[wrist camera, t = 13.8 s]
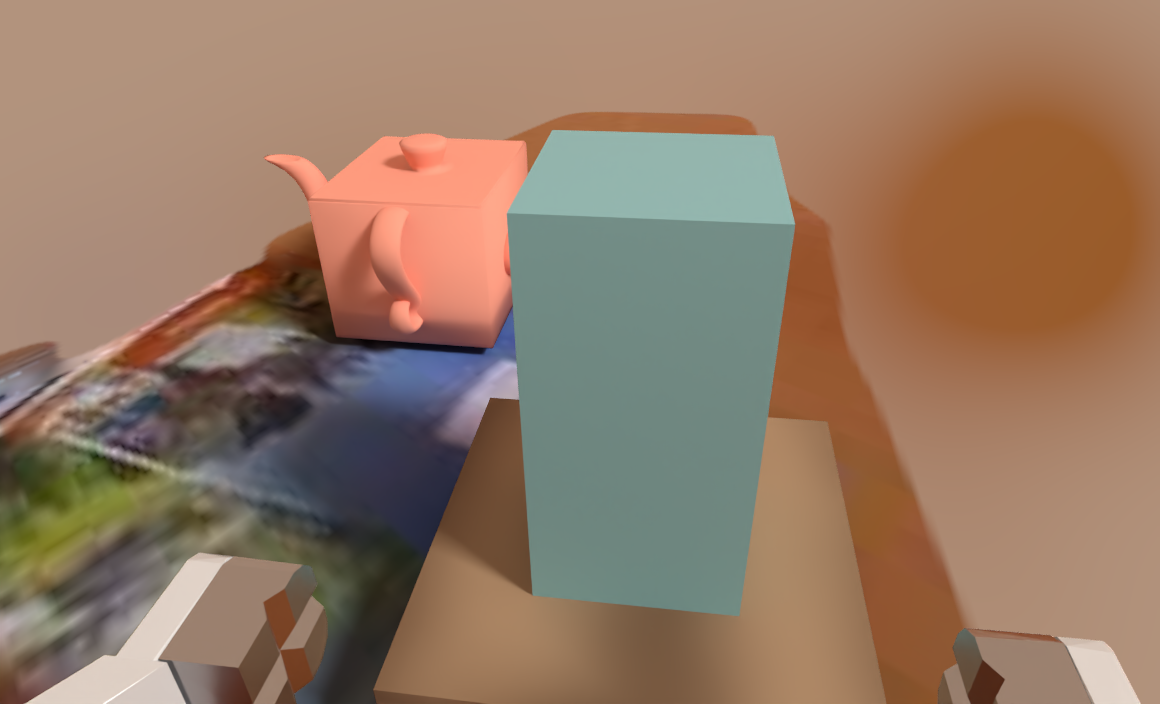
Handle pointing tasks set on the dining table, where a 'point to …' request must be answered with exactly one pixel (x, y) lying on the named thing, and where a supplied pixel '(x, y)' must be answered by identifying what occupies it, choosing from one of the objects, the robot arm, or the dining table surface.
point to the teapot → (416, 237)
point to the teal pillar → (646, 360)
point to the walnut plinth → (634, 633)
